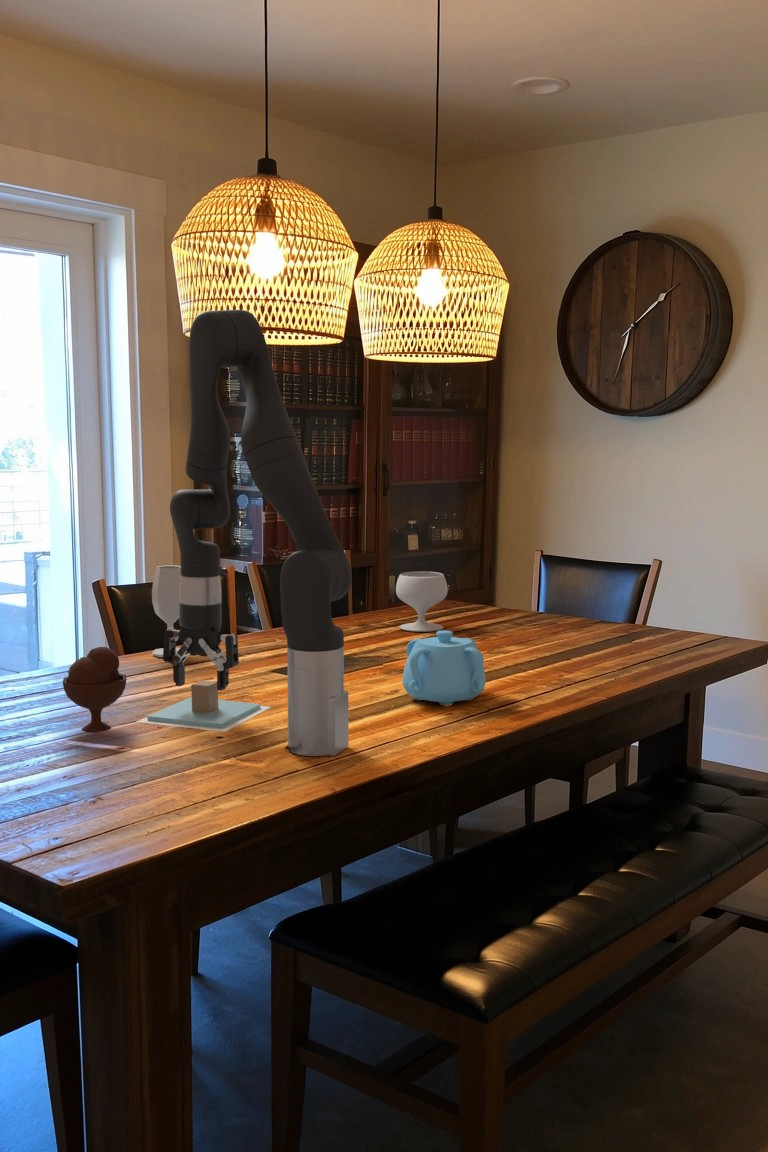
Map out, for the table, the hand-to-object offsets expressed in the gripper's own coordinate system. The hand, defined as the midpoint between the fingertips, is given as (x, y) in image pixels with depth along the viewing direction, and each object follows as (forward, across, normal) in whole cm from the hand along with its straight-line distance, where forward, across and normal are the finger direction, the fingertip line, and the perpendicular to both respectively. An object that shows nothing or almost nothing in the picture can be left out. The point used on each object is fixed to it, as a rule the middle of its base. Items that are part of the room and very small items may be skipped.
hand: (200, 687), depth 191 cm
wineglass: (+7, +34, -48) cm, 59 cm away
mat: (+6, -1, 0) cm, 6 cm away
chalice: (+6, -12, -101) cm, 102 cm away
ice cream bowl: (+6, +12, +14) cm, 20 cm away
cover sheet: (+5, -1, 0) cm, 5 cm away
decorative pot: (+5, -38, -29) cm, 48 cm away
